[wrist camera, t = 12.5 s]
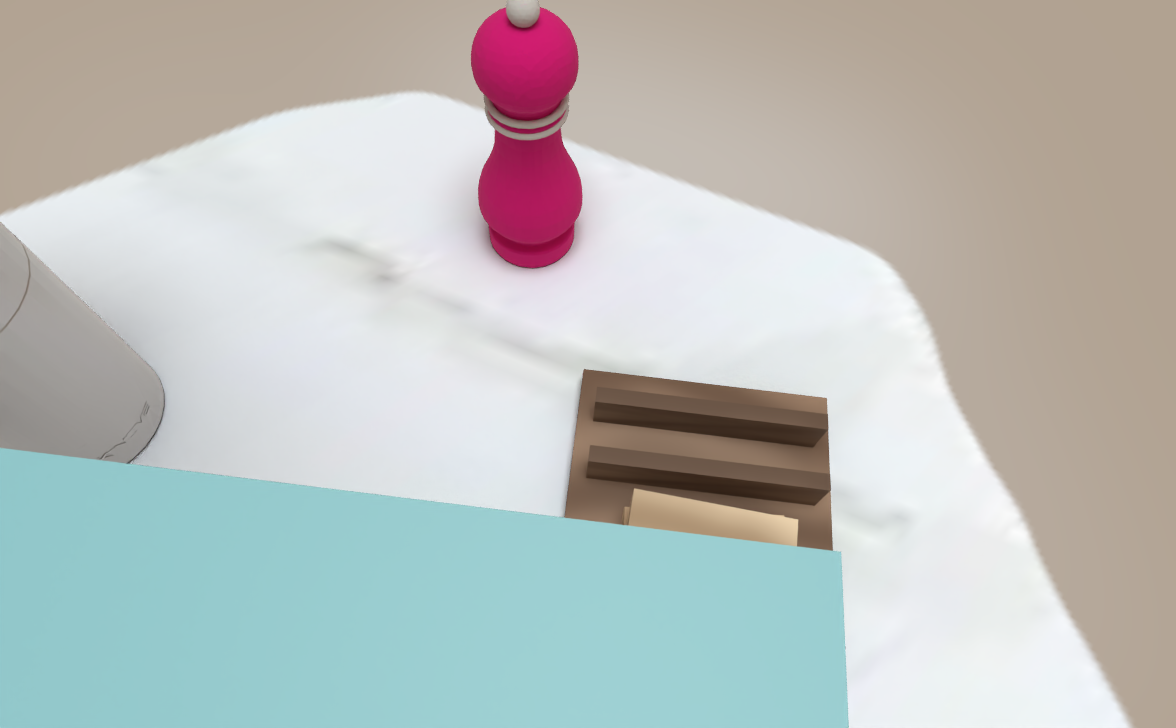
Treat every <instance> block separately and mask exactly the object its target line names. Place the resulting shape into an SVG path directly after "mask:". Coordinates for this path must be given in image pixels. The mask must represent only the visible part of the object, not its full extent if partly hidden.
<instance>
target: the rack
mask: <svg viewBox="0 0 1176 728" xmlns="http://www.w3.org/2000/svg"><path fill="white" fill-rule="evenodd" d="M634 488H635V489H640V490H645V491H650V492H656V493H661V494H666V495H671V496H677V497H682V498H687V499H692V500H698V501H703V502H708V503H714V504H719V505H724V506H729V507H735V508H740V509H745V510H750V511H756V512H761V513H766V514H771V515H784V517H787V518H793V519H798V535H797V547H805V548H814V549H822V550H830V551H833V546H832V520H831V494H830V491H831V484H830V468H829V442H828V414H827V398H821V397H813V396H804V395H796V394H788V393H779V392H771V391H762V390H754V389H746V388H737V387H729V386H720V385H712V384H704V383H695V382H687V381H678V380H670V379H662V378H653V377H645V376H636V375H628V374H620V373H611V372H603V371H594V370H586V369H584V371H583V379H582V386H581V394H580V402H579V410H578V417H577V425H576V433H575V440H574V448H573V456H572V463H571V471H570V479H569V487H568V494H567V502H566V510H565V517H564V518H571V519H579V520H587V521H595V522H603V523H611V524H619V525H622V514H623V511H624V507H630V505H631V498H632V494H633V491H634Z"/></svg>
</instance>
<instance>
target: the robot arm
mask: <svg viewBox="0 0 1176 728" xmlns="http://www.w3.org/2000/svg"><path fill="white" fill-rule="evenodd" d="M163 408H164V391H163V388H162V385H161V381H160V379H159V377H158V376H157V374H156V373H155V371H154V370H153V369H152V368H151V367H150V366H149V365H148V364H147V363H146V362H145V361H144V360H143V359H142V358H141V357H140V356H139V355H138V354H137V353H136V352H135V351H134V350H133V349H132V348H131V347H130V346H129V345H127V344H126V343H125V342H124V340H123V339H122V338H121V337H120V336H119V335H118V334H117V333H116V332H115V331H113V330H112V329H111V328H110V327H109V326H108V325H107V324H106V323H105V322H104V321H103V320H102V319H101V318H100V317H99V316H98V315H97V314H96V313H95V312H94V311H93V310H92V309H91V308H90V307H89V306H88V305H87V304H85V303H84V302H83V301H82V300H81V299H80V298H79V297H78V296H77V295H76V294H75V293H74V292H73V291H72V290H71V289H70V288H69V287H68V286H67V285H66V284H65V283H64V282H63V281H62V280H61V279H60V278H59V277H57V276H56V275H55V274H54V273H53V272H52V271H51V270H50V269H49V268H48V267H47V266H46V265H45V264H44V263H43V262H42V261H41V260H40V259H39V258H38V257H37V256H36V255H35V254H34V253H33V252H32V251H31V250H30V249H28V248H27V247H26V246H25V245H24V244H23V243H22V242H21V241H20V240H19V239H18V238H17V237H16V236H15V235H14V234H12V233H11V232H10V231H9V230H8V229H7V228H6V227H5V226H4V225H3V224H2V223H1V222H0V448H5V449H13V450H21V451H29V452H37V453H45V454H54V455H62V456H70V457H78V458H86V459H94V460H102V461H110V462H118V463H128V462H129V461H130V460H132V459H133V458H134V457H135V456H136V455H137V454H138V453H139V452H140V451H141V450H142V449H143V448H144V447H145V446H146V445H147V443H148V442H149V440H150V439H151V438H152V436H153V435H154V433H155V431H156V429H157V427H158V425H159V422H160V420H161V417H162V412H163Z"/></svg>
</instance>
